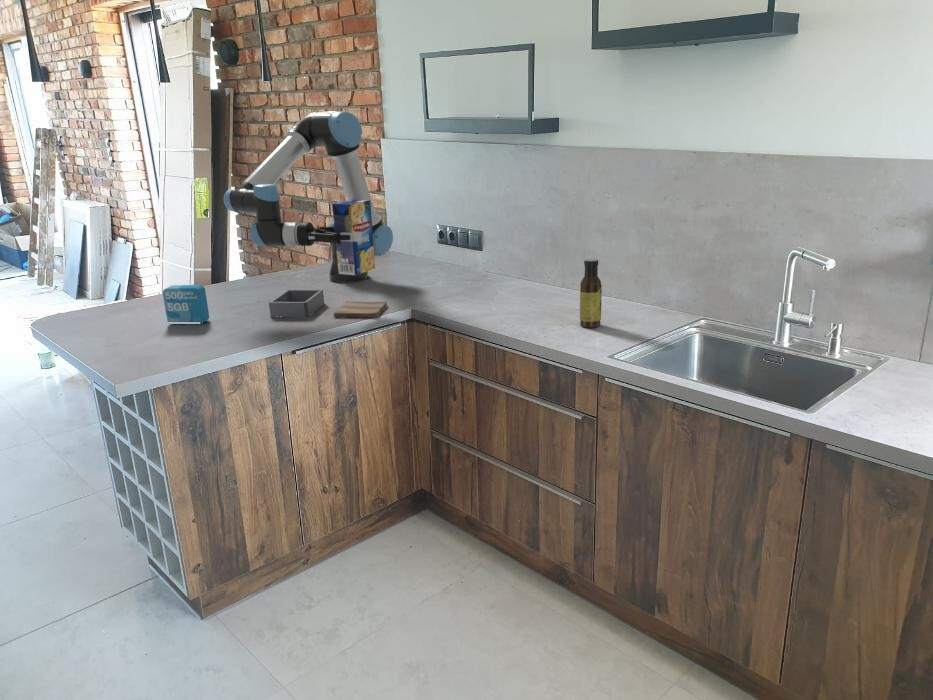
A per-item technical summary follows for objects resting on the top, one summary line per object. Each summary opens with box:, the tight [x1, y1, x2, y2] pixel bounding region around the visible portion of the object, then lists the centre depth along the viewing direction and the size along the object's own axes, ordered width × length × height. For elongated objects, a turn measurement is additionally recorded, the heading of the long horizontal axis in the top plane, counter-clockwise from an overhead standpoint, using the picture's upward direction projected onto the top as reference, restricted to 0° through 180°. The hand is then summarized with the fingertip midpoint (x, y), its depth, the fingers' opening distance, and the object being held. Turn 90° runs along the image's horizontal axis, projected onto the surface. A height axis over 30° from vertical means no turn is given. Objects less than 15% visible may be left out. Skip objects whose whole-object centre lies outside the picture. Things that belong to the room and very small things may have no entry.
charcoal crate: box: [268, 289, 325, 318], centre depth 237 cm, size 17×13×5 cm
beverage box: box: [332, 200, 376, 275], centre depth 226 cm, size 7×11×22 cm, turn 154°
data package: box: [162, 284, 210, 323], centre depth 226 cm, size 12×4×12 cm, turn 87°
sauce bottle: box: [579, 258, 603, 329], centre depth 209 cm, size 6×6×20 cm
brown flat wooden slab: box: [333, 301, 388, 319], centre depth 234 cm, size 14×14×2 cm
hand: (366, 233), depth 225 cm, fingers closed on beverage box, 11 cm apart
